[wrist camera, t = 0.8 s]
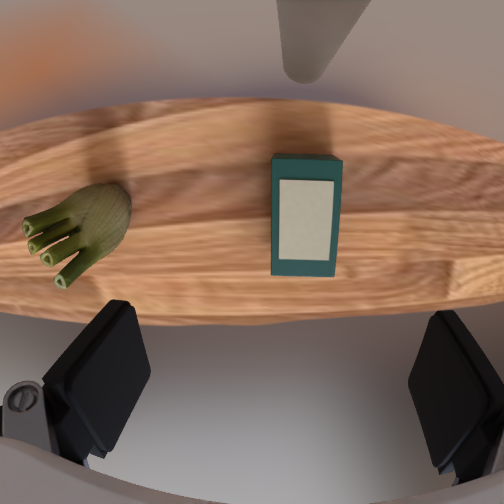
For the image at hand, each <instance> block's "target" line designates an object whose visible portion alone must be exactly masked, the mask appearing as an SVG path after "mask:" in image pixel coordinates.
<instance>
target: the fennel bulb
mask: <svg viewBox="0 0 504 504" xmlns="http://www.w3.org/2000/svg"><path fill="white" fill-rule="evenodd" d="M131 209H132V205H131V200H130V198H129V196H128V194H127V193H126V191H125V190H124V189H123V188H122V187H120V186H118V185H116V184H111V185H107V184H101V183H100V184H93V185H89V186H86V187H84V188H81V189H80V190H78V191H76V192H74V193H73V194H72V195H70V196H69V197H68V198H66V199H65V200H64V201H63V202H61V203H60V204H58V205H57V206H55V207H53V208H50V209H48V210H46V211H43V212H40V213H38V214H35V215H32V216H29V217H25V218H24V220H23V222H22V226H23V227H22V229H23V232H24V234H25V235H26V237H27V238H28V237H30V236H33V235H36V234H38V233H41V232H43V233H42V234H41V235H39V236H36V237H35V238H33V239H31V240H29V241H28V247H29V251H30V253H31V254H32V255H34V254H35V253H36V252H38V251H40V250H41V249H43V248H45V247H47V246H48V245H50V244H52V243H54V242H56V241H58V240H60V239H62V238H64V237H67V236H69V238H67V239H65V240H63V241H60V242H58V243H57V244H55V245H53V246H51V247H50V248H48V249H47V250H46V251H45V252H43V253H42V254H41V255H40V259H41V261H42V263H43V264H45V265H47V266H49V267H52V266H54V265H56V264H57V263H59V262H61V261H62V260H63V259H65V258H67V257H69V256H71V255H73V254H74V253H76V252H78V251H79V254H78V255H77V256H76V257H75V258H73V259H72V260H71V261H70V262H69V263H68V264H67V265H66V266H65V267H64V268H63V269H62V270H61V271H60V272H59V273H58V274H57V276H55V277H54V284H55V285H56V286H58V287H59V288H61V289H66V288H68V287H69V286H70V285H71V283H73V282H74V281H75V280H76V279H77V278H78V277H79V276H80V275H81V274H82V273H83V272H84V271H85V270H87V269H88V268H89V267H91V266H92V265H93V264H95V263H96V262H97V261H99V260H100V259H102V258H104V257H105V256H106V255H108V254H110V253H111V252H112V251H113V250H115V248H116V247H117V246H118V245H119V244H120V243H121V241H122V240H123V238H124V235H125V233H126V231H127V228H128V225H129V222H130V217H131Z"/></svg>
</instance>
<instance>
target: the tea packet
mask: <svg viewBox="0 0 504 504" xmlns="http://www.w3.org/2000/svg"><path fill="white" fill-rule="evenodd" d="M342 170H343V161H342V160H340V159H338V158H337V157H335V156H333V155H317V154H284V153H275V154H274V155H273V157H272V159H271V275H272V276H305V277H334V275H335V266H336V256H337V245H338V234H339V221H340V207H341V191H342Z"/></svg>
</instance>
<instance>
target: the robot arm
mask: <svg viewBox="0 0 504 504" xmlns="http://www.w3.org/2000/svg"><path fill="white" fill-rule="evenodd" d="M150 372H151V369H150V365H149V361H148V358H147V354H146V351H145V347H144V343H143V339H142V335H141V332H140V328H139V323H138V319H137V315H136V311H135V308H134V307H133V306H131V305H130V303H129V302H128V301H123V300H114V299H113V300H110V301H109V302H108V303H107V304H106V305H105V307H104V308H103V309H102V310H101V311H100V312H99V313H98V314H97V315H96V316H95V317H94V319H93V320H92V321H91V322H90V323H89V324H88V325H87V326H86V327H85V329H84V330H83V331H82V332H81V333H80V334H79V335H78V337H77V338H76V339H75V340H74V341H73V342H72V343H71V345H70V346H69V347H68V348H67V349H66V350H65V351H64V353H63V354H62V355H61V356H60V357H59V358H58V360H57V361H56V362H55V363H54V365H53V366H52V367H51V368H50V369H49V371H48V372H47V373H46V374H45V375H44V377H43V378H42V380H43V381H44V383H45V384H44V385H43V387H41V386H40V385H39V384H38V383H36V382H34V381H22V382H19V383H16V384H15V385H13V386H12V387H11V388H10V389H9V390H8V391H7V392H6V394H5V396H4V399H3V405H2V406H0V504H226V503H218V502H212V501H205V500H200V499H194V498H189V497H184V496H179V495H175V494H170V493H166V492H162V491H158V490H154V489H150V488H146V487H143V486H139V485H136V484H132V483H129V482H126V481H123V480H120V479H117V478H114V477H111V476H108V475H105V474H102V473H99V472H96V471H94V470H91V469H90V468H89V464H88V461H87V456H88V455H89V453H90V454H92V455H95V456H98V457H100V458H103V459H104V458H105V456H106V454H107V452H111V451H112V450H113V449H114V447H115V445H116V442H117V441H118V438H119V436H120V434H121V432H122V430H123V428H124V426H125V424H126V422H127V420H128V418H129V416H130V414H131V412H132V410H133V409H134V407H135V405H136V403H137V401H138V399H139V397H140V395H141V393H142V391H143V389H144V387H145V385H146V383H147V381H148V379H149V377H150ZM408 387H409V390H410V393H411V396H412V399H413V402H414V405H415V408H416V411H417V414H418V417H419V420H420V423H421V426H422V430H423V433H424V436H425V439H426V443H427V446H428V449H429V453H430V457H431V460H432V464H433V466H434V467H437V468H438V471H439V475H441V474H445V473H449V472H453V471H454V470H455V473H456V478H455V480H454V482H453V484H452V486H451V487H449V488H445V489H441V490H438V491H434V492H430V493H426V494H421V495H417V496H413V497H407V498H403V499H397V500H392V501H386V502H379V503H371V504H504V384H503V382H502V381H501V379H500V377H499V376H498V374H497V372H496V371H495V369H494V368H493V366H492V365H491V363H490V361H489V360H488V358H487V357H486V355H485V354H484V352H483V351H482V350H481V348H480V346H479V345H478V343H477V342H476V340H475V339H474V338H473V336H472V335H471V333H470V332H469V331H468V329H467V328H466V326H465V325H464V323H463V322H462V321H461V319H460V318H459V317H458V315H457V314H456V313H455V312H454V311H453V310H444V311H437V312H436V313H435V314H434V316H431V318H430V319H429V322H428V326H427V329H426V332H425V335H424V338H423V341H422V344H421V347H420V349H419V352H418V355H417V358H416V360H415V363H414V366H413V368H412V371H411V373H410V376H409V379H408Z"/></svg>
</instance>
